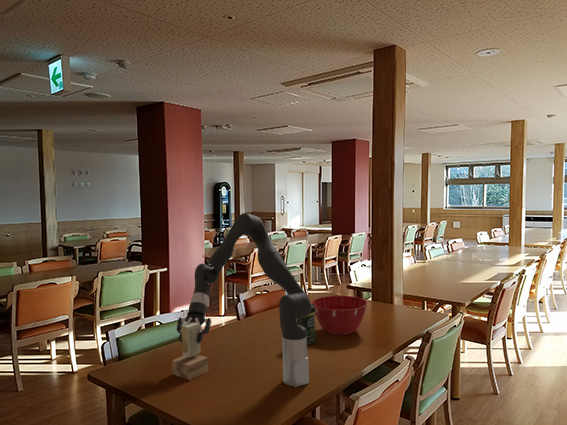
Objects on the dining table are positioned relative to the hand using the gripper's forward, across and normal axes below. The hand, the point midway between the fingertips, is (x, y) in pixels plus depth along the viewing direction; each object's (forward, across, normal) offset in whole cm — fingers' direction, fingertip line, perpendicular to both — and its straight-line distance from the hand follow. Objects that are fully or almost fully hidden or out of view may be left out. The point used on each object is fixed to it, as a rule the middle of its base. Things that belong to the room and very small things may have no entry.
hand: (189, 342), depth 169 cm
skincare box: (+3, 0, +5) cm, 6 cm away
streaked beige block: (+9, 0, +9) cm, 13 cm away
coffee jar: (-19, +43, +37) cm, 60 cm away
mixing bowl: (-32, +59, +50) cm, 84 cm away
